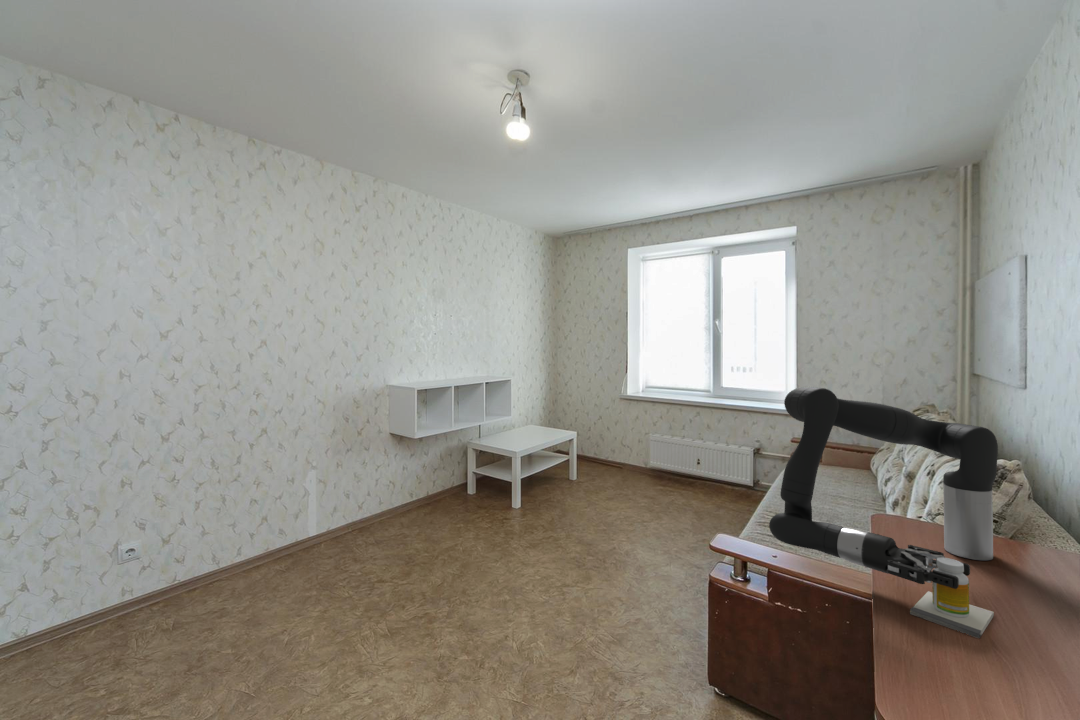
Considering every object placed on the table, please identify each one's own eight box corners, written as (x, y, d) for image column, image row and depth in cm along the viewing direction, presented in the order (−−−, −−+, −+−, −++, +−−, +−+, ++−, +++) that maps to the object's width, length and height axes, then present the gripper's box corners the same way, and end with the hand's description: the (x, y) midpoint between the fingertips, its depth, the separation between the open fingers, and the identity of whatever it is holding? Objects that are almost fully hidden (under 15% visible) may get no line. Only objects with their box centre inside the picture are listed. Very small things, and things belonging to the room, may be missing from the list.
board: (928, 594, 97) (928, 590, 97) (993, 615, 89) (993, 611, 89) (910, 614, 90) (910, 609, 90) (979, 638, 82) (979, 633, 82)
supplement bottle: (976, 619, 86) (976, 568, 86) (943, 616, 87) (943, 566, 87) (957, 604, 92) (956, 556, 92) (926, 602, 93) (925, 554, 93)
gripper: (853, 540, 97) (954, 567, 84) (877, 525, 105) (972, 548, 92) (853, 575, 97) (954, 608, 84) (878, 557, 105) (973, 584, 92)
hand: (964, 576), depth 88 cm, fingers open, 8 cm apart
